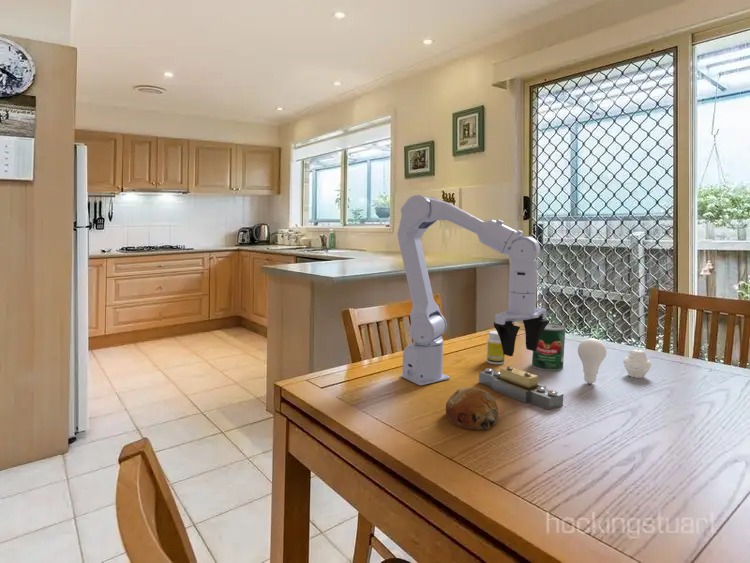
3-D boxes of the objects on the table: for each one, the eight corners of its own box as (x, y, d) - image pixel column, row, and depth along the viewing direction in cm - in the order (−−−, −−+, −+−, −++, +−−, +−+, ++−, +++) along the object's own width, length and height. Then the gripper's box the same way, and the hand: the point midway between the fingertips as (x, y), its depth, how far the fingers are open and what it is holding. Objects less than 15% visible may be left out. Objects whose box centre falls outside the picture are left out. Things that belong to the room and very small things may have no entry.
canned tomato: (538, 371, 119) (540, 329, 117) (527, 361, 126) (529, 322, 125) (568, 371, 119) (571, 329, 117) (556, 361, 126) (558, 322, 125)
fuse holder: (545, 411, 93) (546, 396, 93) (475, 383, 109) (476, 370, 109) (565, 404, 97) (566, 390, 96) (495, 378, 113) (495, 366, 112)
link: (528, 400, 99) (529, 376, 98) (499, 389, 105) (500, 366, 105) (537, 398, 100) (538, 374, 100) (508, 387, 107) (509, 364, 106)
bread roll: (492, 430, 93) (488, 389, 95) (507, 429, 83) (503, 384, 85) (443, 430, 92) (441, 389, 95) (453, 430, 83) (450, 385, 85)
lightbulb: (588, 389, 106) (591, 342, 104) (570, 380, 111) (572, 336, 110) (610, 387, 107) (613, 341, 106) (591, 378, 113) (594, 334, 112)
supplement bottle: (506, 364, 124) (507, 334, 122) (488, 364, 124) (489, 334, 123) (501, 359, 128) (503, 330, 127) (484, 359, 128) (485, 330, 127)
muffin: (655, 378, 113) (658, 350, 113) (640, 381, 111) (642, 353, 110) (632, 371, 119) (634, 344, 118) (616, 374, 116) (618, 347, 115)
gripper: (514, 297, 93) (511, 362, 94) (559, 291, 101) (556, 351, 102) (488, 292, 99) (486, 354, 100) (532, 287, 106) (529, 344, 108)
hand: (519, 352), depth 102 cm, fingers open, 7 cm apart
